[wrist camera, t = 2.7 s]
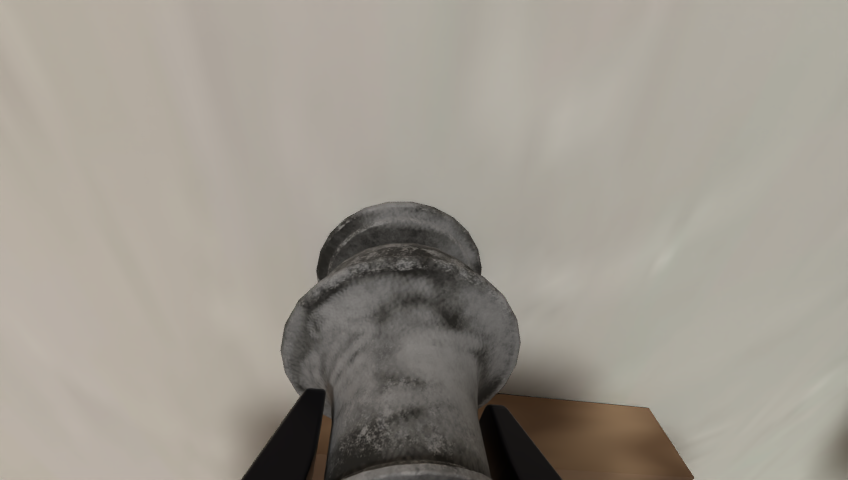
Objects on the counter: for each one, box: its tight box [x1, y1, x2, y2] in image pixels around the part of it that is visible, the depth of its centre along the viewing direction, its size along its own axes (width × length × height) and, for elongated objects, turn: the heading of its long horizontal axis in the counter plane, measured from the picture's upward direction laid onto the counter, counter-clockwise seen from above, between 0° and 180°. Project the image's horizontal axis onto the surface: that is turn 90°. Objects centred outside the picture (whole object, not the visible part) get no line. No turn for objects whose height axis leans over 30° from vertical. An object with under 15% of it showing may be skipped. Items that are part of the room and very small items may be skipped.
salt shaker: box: [281, 202, 521, 480], centre depth 8 cm, size 6×6×12 cm
